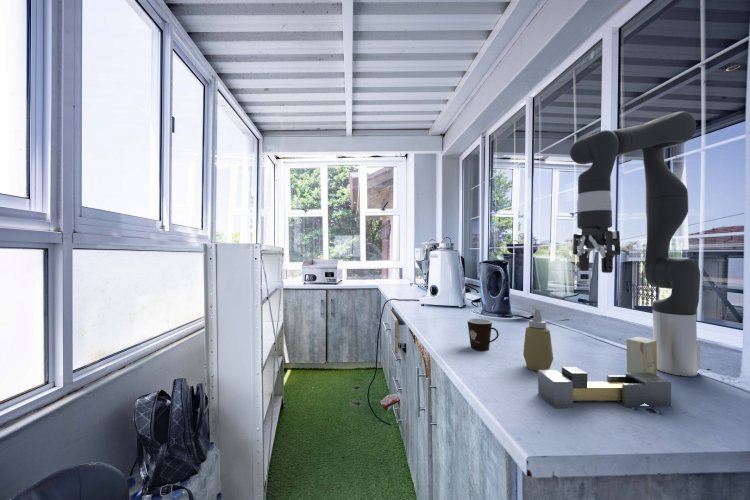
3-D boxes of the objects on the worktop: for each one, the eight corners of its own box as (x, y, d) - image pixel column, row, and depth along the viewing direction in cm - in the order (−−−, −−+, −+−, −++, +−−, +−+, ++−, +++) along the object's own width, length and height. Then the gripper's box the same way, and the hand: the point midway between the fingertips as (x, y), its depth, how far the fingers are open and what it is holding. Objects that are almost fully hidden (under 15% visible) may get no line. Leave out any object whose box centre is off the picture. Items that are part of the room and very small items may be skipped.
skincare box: (646, 391, 77) (646, 343, 77) (626, 385, 81) (625, 338, 81) (658, 386, 80) (657, 339, 80) (637, 380, 84) (637, 335, 84)
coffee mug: (464, 345, 116) (463, 318, 116) (485, 344, 117) (485, 318, 117) (476, 355, 105) (476, 326, 105) (501, 354, 105) (500, 325, 105)
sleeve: (650, 395, 75) (650, 372, 75) (671, 406, 70) (671, 382, 70) (607, 395, 75) (607, 372, 75) (625, 406, 70) (624, 382, 70)
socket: (555, 393, 76) (554, 369, 76) (573, 408, 69) (572, 381, 69) (538, 393, 76) (537, 369, 76) (554, 408, 69) (554, 381, 69)
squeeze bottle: (557, 374, 88) (557, 312, 88) (527, 372, 89) (526, 311, 89) (547, 364, 96) (547, 307, 96) (520, 362, 97) (519, 306, 97)
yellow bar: (621, 393, 74) (621, 366, 74) (635, 401, 70) (635, 373, 70) (547, 393, 75) (547, 366, 75) (557, 401, 71) (556, 373, 71)
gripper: (630, 206, 74) (631, 273, 73) (589, 213, 88) (590, 269, 88) (599, 206, 74) (600, 273, 74) (563, 213, 88) (564, 270, 88)
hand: (594, 271), depth 81 cm, fingers open, 8 cm apart
